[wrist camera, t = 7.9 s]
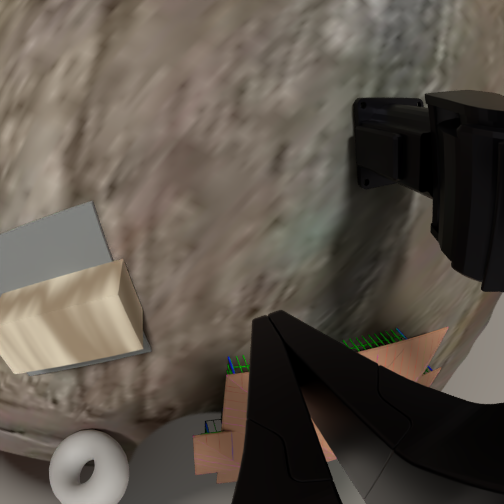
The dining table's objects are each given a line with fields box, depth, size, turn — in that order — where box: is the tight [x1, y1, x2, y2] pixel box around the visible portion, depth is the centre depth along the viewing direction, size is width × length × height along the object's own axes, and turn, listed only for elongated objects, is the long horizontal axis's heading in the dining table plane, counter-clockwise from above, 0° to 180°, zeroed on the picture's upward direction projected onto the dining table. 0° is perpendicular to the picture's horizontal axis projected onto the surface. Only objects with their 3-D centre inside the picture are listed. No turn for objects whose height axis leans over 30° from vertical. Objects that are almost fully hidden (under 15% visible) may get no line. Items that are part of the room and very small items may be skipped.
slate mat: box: [0, 201, 151, 376], centre depth 18 cm, size 12×12×1 cm
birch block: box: [0, 259, 143, 374], centre depth 17 cm, size 4×4×10 cm
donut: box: [49, 429, 129, 504], centre depth 21 cm, size 10×4×10 cm, turn 108°
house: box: [193, 327, 449, 484], centre depth 30 cm, size 23×33×8 cm
